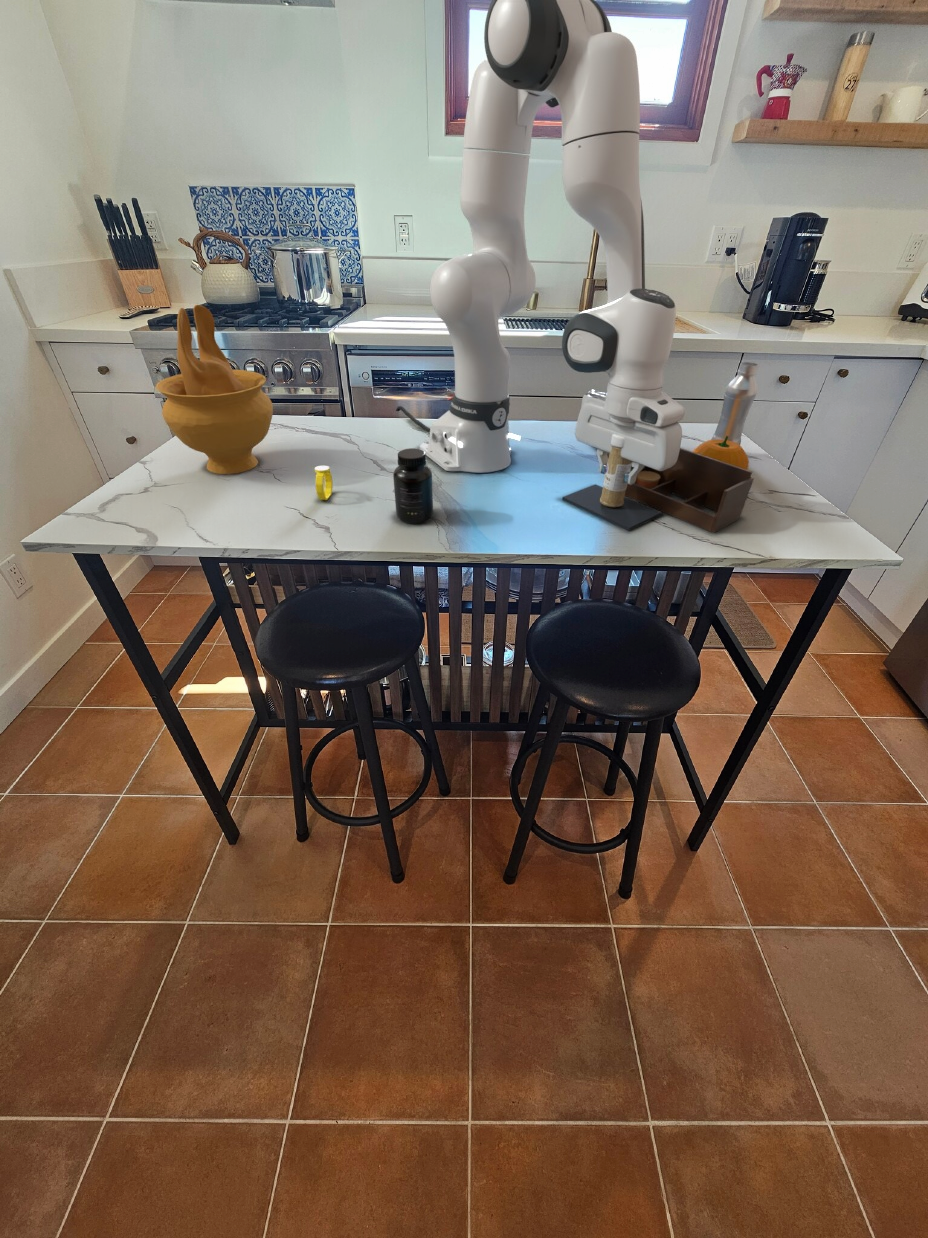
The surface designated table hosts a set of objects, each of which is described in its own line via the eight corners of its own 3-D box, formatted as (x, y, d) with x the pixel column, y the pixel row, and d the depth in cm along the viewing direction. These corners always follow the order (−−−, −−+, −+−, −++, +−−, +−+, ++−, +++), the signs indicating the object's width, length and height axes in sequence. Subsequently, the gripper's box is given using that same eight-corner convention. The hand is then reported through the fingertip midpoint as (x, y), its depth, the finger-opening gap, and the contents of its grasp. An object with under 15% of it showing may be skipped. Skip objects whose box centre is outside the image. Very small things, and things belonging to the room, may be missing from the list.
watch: (328, 504, 104) (324, 474, 101) (314, 503, 104) (309, 474, 101) (337, 491, 109) (333, 462, 105) (323, 490, 109) (319, 461, 105)
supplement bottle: (398, 507, 104) (394, 444, 96) (434, 508, 104) (433, 446, 96) (393, 524, 98) (389, 459, 91) (431, 525, 98) (430, 460, 91)
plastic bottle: (742, 457, 127) (773, 365, 115) (724, 463, 124) (754, 369, 112) (718, 449, 131) (745, 358, 119) (700, 454, 128) (726, 362, 116)
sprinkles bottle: (596, 498, 106) (608, 428, 98) (619, 497, 107) (633, 428, 99) (603, 508, 103) (617, 437, 95) (627, 508, 103) (642, 437, 95)
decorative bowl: (243, 490, 108) (201, 320, 90) (157, 475, 113) (101, 311, 95) (301, 454, 124) (276, 302, 106) (223, 441, 129) (186, 295, 111)
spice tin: (628, 491, 111) (631, 474, 109) (641, 485, 114) (645, 468, 111) (647, 499, 109) (651, 482, 106) (660, 493, 111) (665, 476, 109)
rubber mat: (562, 499, 108) (562, 496, 107) (594, 486, 113) (595, 484, 112) (628, 530, 98) (629, 527, 98) (661, 515, 103) (662, 512, 103)
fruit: (692, 468, 122) (705, 422, 115) (747, 481, 116) (764, 434, 110) (674, 485, 114) (687, 437, 108) (733, 500, 109) (750, 451, 103)
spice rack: (615, 491, 111) (623, 448, 106) (642, 480, 116) (651, 438, 110) (713, 533, 98) (729, 485, 92) (739, 518, 103) (756, 472, 97)
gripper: (573, 390, 98) (563, 464, 106) (672, 419, 86) (652, 501, 94) (596, 384, 101) (584, 457, 110) (694, 412, 89) (673, 491, 97)
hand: (616, 477), depth 102 cm, fingers closed on sprinkles bottle, 4 cm apart
